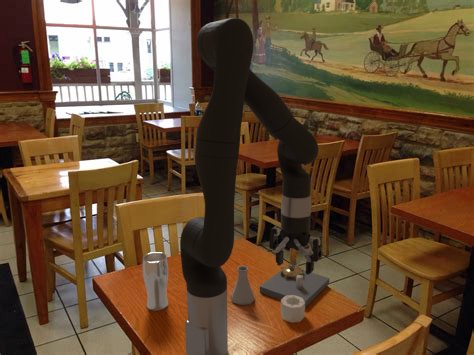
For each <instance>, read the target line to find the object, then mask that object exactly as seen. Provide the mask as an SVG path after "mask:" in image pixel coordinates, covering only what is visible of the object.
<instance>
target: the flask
mask: <svg viewBox="0 0 474 355" xmlns="http://www.w3.org/2000/svg"><path fill="white" fill-rule="evenodd" d="M248 267H249V266H246V265H239V266H237V268H236V269H237V273H238V274H237V279H236V283H235V286H234V288H233V291H232V293H231V295H230V299H231V303H234V304H236V305H239V306H244V305H252V303H254V301H255V300H256V298H255V294H254V292H253V289H252V287H251V284H250V281H249V278H248V271H249V268H248Z"/></svg>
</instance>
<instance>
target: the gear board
mask: <svg viewBox="0 0 474 355" xmlns="http://www.w3.org/2000/svg"><path fill="white" fill-rule="evenodd" d="M329 285H330V277H327V276H324V275H320V274H318V273H314V272H311V273H310V274H309V275H307V274H306V269H305V270H303V276H301V275H298V276H297V277H296V280H293V279H289V278H288V279H285V278H284V276H282V275H280V270H279V271H278V272H277V273H275V274H274V275H273V276H271V277H270V278H269V279H267V281H265V282H264V283H262V284H261V285H260V286H259V293H261V294H264V295H267V296H269V297H271V298H274V299H277V300H280V301H281V299H282V298H284V297H285V296H288V295H296V296H299V297H301V298H303V300H304V302H305V308H307V306H308V305H310V304H311V302H312V301H313V300H315V299H316V298H317V296H319V295H320V293H322V291H324V290H325V289H326V288H327V287H328V286H329ZM318 294H319V295H318Z"/></svg>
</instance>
